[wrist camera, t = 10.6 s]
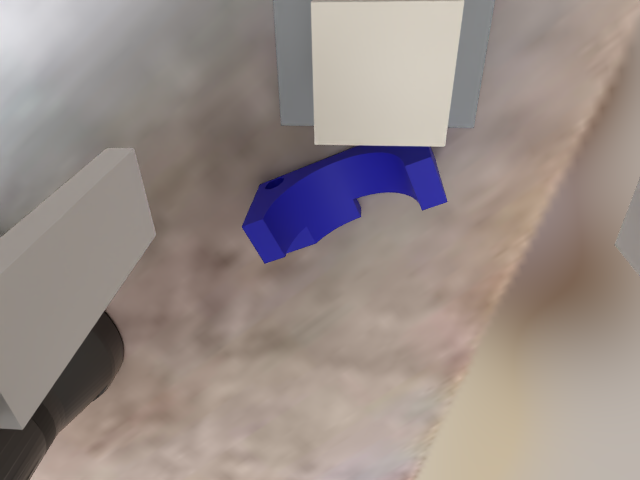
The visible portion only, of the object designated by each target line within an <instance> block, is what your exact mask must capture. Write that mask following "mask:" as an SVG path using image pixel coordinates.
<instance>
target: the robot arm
mask: <svg viewBox="0 0 640 480" xmlns="http://www.w3.org/2000/svg"><path fill="white" fill-rule="evenodd" d="M155 236H156V232H155V228H154V224H153V220H152V216H151V212H150V208H149V204H148V200H147V196H146V192H145V188H144V184H143V181H142V177H141V173H140V169H139V165H138V161H137V157H136V153H135V149H134V148H106V149H105V150H104V151H103V152H101V153H100V154H99V155H98V156H97V157H95V158H94V159H93V160H92V161H91V162H90V163H88V164H87V165H86V166H85V167H84V168H82V169H81V170H80V171H79V172H78V173H76V174H75V175H74V176H73V177H72V178H71V179H69V180H68V181H67V182H66V183H65V184H63V185H62V186H61V187H60V188H59V189H57V190H56V191H55V192H54V193H53V194H52V195H50V196H49V197H48V198H47V199H46V200H44V201H43V202H42V203H41V204H40V205H39V206H37V207H36V208H35V209H34V210H33V211H31V212H30V213H29V214H28V215H27V216H25V217H24V218H23V219H22V220H21V221H20V222H18V223H17V224H16V225H15V226H14V227H12V228H11V229H10V230H9V231H8V232H6V233H5V234H4V235H3V236H2V237H1V238H0V480H30V478H31V477H32V475H33V473H34V472H35V470H36V468H37V467H38V465H39V463H40V462H41V460H42V459H43V457H44V455H45V454H46V452H47V450H48V449H49V447H50V445H51V444H52V442H53V440H54V439H55V437H56V436H57V434H58V433H59V432H60V431H61V430H62V429H63V428H64V427H65V426H67V425H68V424H69V423H70V422H71V421H72V420H73V419H74V418H75V417H76V416H77V415H78V414H79V413H80V412H82V411H83V410H84V409H85V408H86V407H87V406H88V405H89V404H90V403H91V402H92V401H94V400H96V399H97V398H98V397H99V396H101V395H102V394H103V393H104V392H105V391H106V390H107V389H108V387H109V386H110V384H111V383H112V381H113V379H114V378H115V376H116V374H117V372H118V371H119V369H120V367H121V364H122V361H123V355H124V351H123V344H122V340H121V338H120V335H119V333H118V331H117V329H116V327H115V326H114V324H113V323H112V321H111V320H110V319H109V317H108V316H107V315H106V314H105V313H104V311H105V309H106V308H107V306H108V305H109V303H110V302H111V300H112V299H113V297H114V296H115V294H116V293H117V292H118V290H119V289H120V287H121V286H122V284H123V283H124V281H125V280H126V278H127V277H128V275H129V274H130V273H131V271H132V270H133V268H134V267H135V265H136V264H137V262H138V261H139V259H140V258H141V257H142V255H143V254H144V252H145V251H146V249H147V248H148V246H149V245H150V243H151V242H152V240H153V239H154V238H155ZM615 246H616V247H617V249H618V250H619V251H620V252H621V253H622V255H623V256H624V257H625V258H626V260H627V261H628V262H629V264H630V265H631V266H632V267H633V269H634V270H635V271H636V272H637V274H638V275H639V276H640V179H639V181H638V184H637V187H636V189H635V192H634V195H633V197H632V200H631V202H630V205H629V208H628V211H627V213H626V216H625V218H624V221H623V224H622V226H621V229H620V232H619V234H618V237H617V240H616V243H615Z"/></svg>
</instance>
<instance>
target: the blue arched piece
mask: <svg viewBox="0 0 640 480" xmlns="http://www.w3.org/2000/svg"><path fill="white" fill-rule="evenodd" d="M385 192H394V193H402V194H406V195H409V196H411V197H413V198H414V199H415V200H417V202H418V203H419V204H420V206H421V209H422V210H425V209H428V208H431V207H434V206H437V205H440V204H443V203H446V202H447V198H446V195H445V191H444V188H443V184H442V181H441V178H440V174H439V171H438V167H437V164H436V160H435V158H434V155H433V152H432V149H431V146H368V145H359V146H356V147H353V148H351V149H348V150H346V151H343V152H341V153H338V154H336V155H333V156H331V157H328V158H326V159H323V160H321V161H318V162H316V163H313V164H310V165H308V166H305V167H303V168H300V169H298V170H295V171H293V172H290V173H288V174H285V175H283V176H280V177H278V178H275V179H273V180H270V181H268V182H265V183H262V184H260V185H259V188H258V190H257V192H256V195H255V197H254V199H253V202H252V204H251V206H250V209H249V211H248V213H247V216H246V218H245V220H244V223H243V225H242V228H243V230H244V231H245V233H246V235H247V236H248V238H249V239H250V241H251V243H252V244H253V246H254V247H255V249H256V250H257V252H258V254H259V255H260V257H261V258H262V260H263V262H264V263H268V262H271V261H274V260H277V259H280V258H283V257H285V256H286V253H289V252H292V251H295V250H298V249H301V248H304V247H307V246H310V245H313V244H316V243H317V242H318V241H319V240H321V239H322V238H323V237H324V236H326V235H327V234H328V233H330V232H331V231H333V230H335V229H336V228H338V227H340V226H342V225H344V224H346V223H348V222H350V221H352V220H355V219H357V218H360V217H361V206H360V204H359V202H358V200H357V198H359V197H362V196H366V195H370V194H376V193H385Z"/></svg>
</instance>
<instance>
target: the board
mask: <svg viewBox="0 0 640 480" xmlns="http://www.w3.org/2000/svg"><path fill="white" fill-rule="evenodd" d="M311 1H312V0H273V9H274V24H275V40H276V55H277V71H278V86H279V102H280V117H281V125H287V126H314V103H313V65H312V28H311ZM494 3H495V0H464V8H463V15H462V23H461V30H460V38H459V45H458V53H457V60H456V68H455V76H454V83H453V91H452V98H451V106H450V113H449V121H448V128H474V123H475V117H476V111H477V105H478V99H479V93H480V87H481V81H482V75H483V69H484V63H485V57H486V51H487V45H488V39H489V33H490V27H491V21H492V15H493V9H494Z"/></svg>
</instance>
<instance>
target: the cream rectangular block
mask: <svg viewBox="0 0 640 480" xmlns="http://www.w3.org/2000/svg"><path fill="white" fill-rule="evenodd" d="M463 8H464V0H312V1H311V28H312V65H313V103H314V141H315V145H368V146H434V147H445V143H446V136H447V128H448V121H449V113H450V106H451V98H452V91H453V83H454V76H455V68H456V60H457V53H458V45H459V38H460V30H461V23H462V15H463Z"/></svg>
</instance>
